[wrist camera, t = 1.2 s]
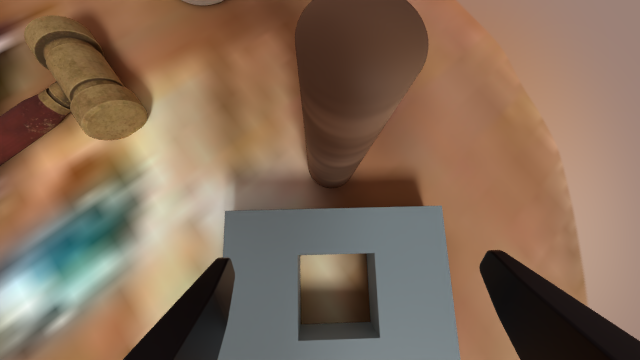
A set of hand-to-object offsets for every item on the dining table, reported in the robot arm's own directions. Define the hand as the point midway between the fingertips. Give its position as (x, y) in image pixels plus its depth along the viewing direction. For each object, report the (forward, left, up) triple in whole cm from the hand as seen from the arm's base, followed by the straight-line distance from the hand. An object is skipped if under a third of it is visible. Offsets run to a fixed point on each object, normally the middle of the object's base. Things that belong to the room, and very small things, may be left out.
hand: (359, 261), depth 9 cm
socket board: (-2, +2, -12) cm, 13 cm away
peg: (+5, -5, -12) cm, 14 cm away
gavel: (+25, +14, -13) cm, 32 cm away
